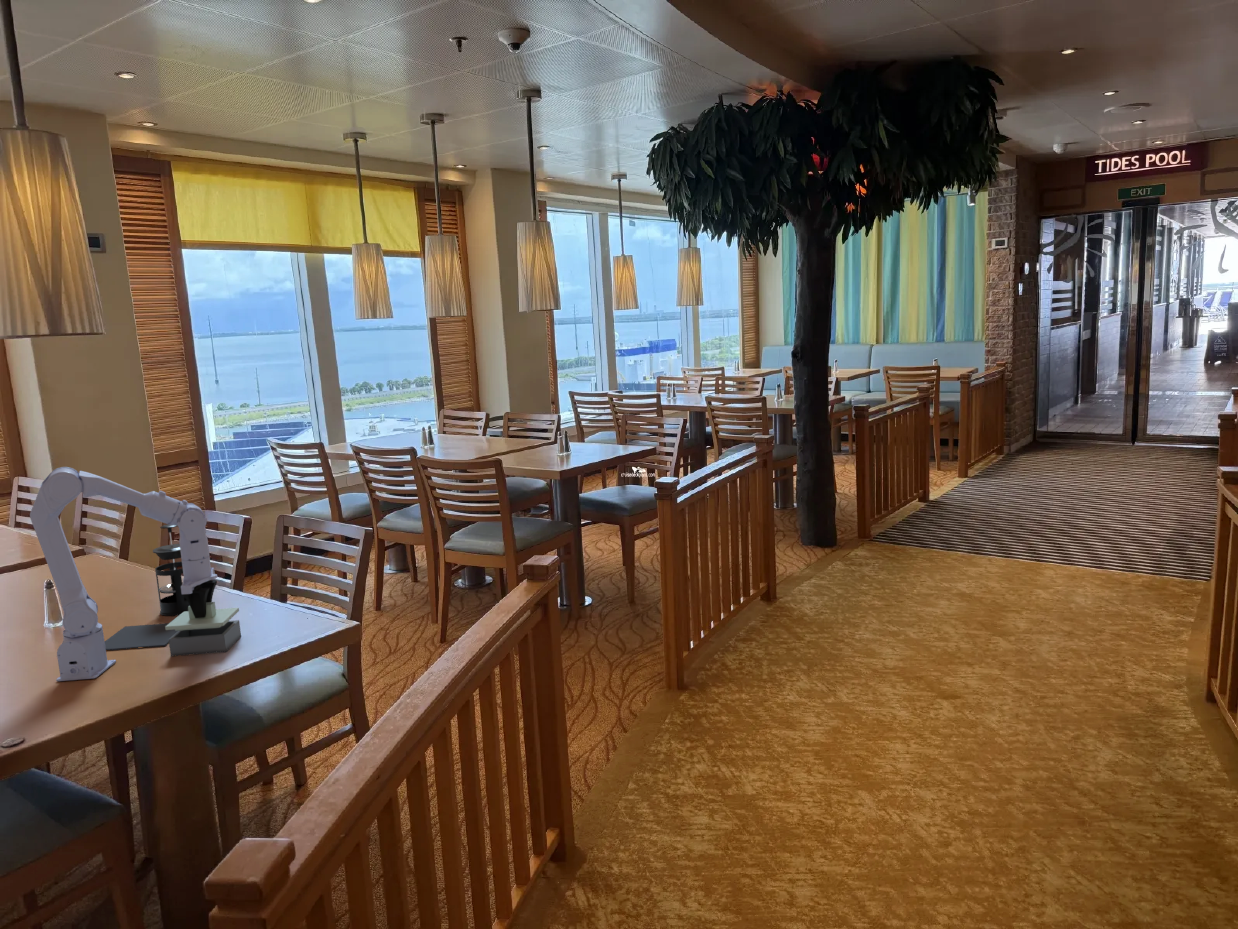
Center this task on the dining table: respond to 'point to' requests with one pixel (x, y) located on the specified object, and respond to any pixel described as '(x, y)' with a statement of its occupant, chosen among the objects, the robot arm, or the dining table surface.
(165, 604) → the french press
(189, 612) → the lid
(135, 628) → the mat
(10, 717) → the dining table surface
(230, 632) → the tub
